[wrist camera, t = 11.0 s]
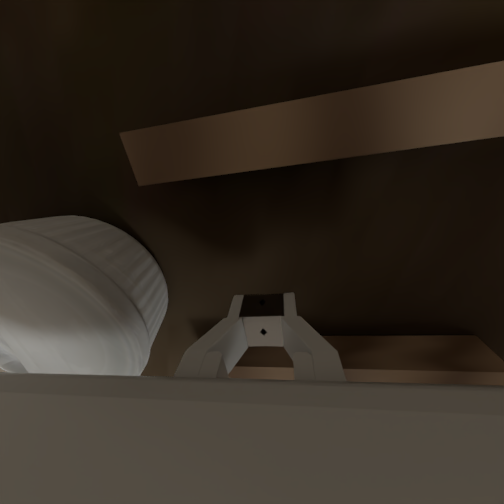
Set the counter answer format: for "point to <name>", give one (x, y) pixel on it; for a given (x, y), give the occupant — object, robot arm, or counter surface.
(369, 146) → the parallel wooden rails
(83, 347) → the ramekin
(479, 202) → the counter surface
